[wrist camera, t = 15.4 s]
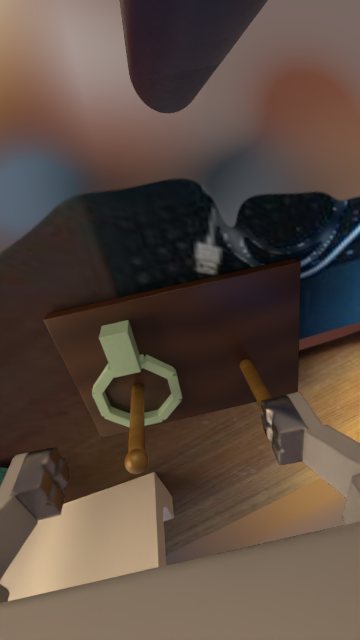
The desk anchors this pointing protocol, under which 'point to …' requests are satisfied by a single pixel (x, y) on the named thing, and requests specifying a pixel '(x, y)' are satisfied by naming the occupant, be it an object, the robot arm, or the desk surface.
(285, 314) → the peg rack
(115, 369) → the hanging tag
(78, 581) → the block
